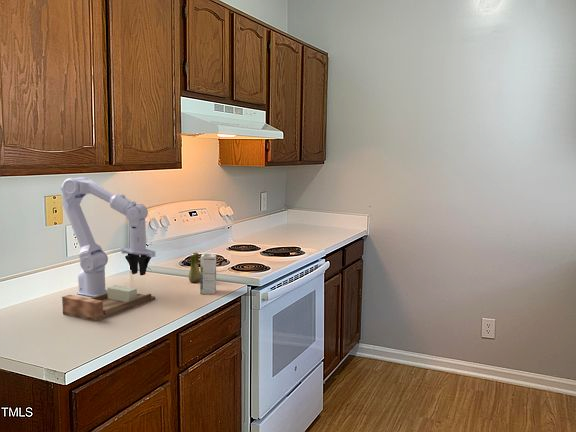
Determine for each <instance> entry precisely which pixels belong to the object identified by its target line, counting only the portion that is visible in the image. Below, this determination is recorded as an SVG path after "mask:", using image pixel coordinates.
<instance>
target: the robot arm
mask: <svg viewBox="0 0 576 432" xmlns="http://www.w3.org/2000/svg"><path fill="white" fill-rule="evenodd" d="M60 191H61V193H62V206H63V208H64V211H65V214H66V216H67V218H68V220H69V222H70V226H71V228H72V231H73V232H74V235H75V238H76V240H77V242H78V244H79V247H80V250H79V252H78V257H79V260H80V261H79V265H80V268H81V271H79V274H78V276H77V277H78V278H77V281H78V282H77V283H78V292H77V295H80V296H81V295H82V296H87V297H91V298H92V297H95V296H99V295H102V294H105V293H107V289H106V272H105V271H106V266H107V264H108V261H109V256H108V254H107V253H106V252H105V251H104V250H103V248H102V246H101V245H99V244H98V243H96V241H95V238H94V236H93V234H92V231H91V229H90V226H89V224H88V221H87V218H86V216H85V214H84V212H83V210H82V207H81V203H82V200H83V199H84V197H85V196H86V195H88V194H89V195H90V194H91V195H92V196H94V197H97V198H99V199H101V200H102V201H104V202H107V203H109V206H110V208H111V209H112V210H114V211H116V212H118V213H120V214H121V215H123V216H125V218H126V220H127V221H128V225H129V229H128V230H129V247H122V248H121V249H120V251H121V252H120V253H121V254H127V255H125V256H124V257H125V259H126V261H127V263H128V266H129V268H130V271H131V274H132V275H137V274H138V271H139V276H145V275H146V274H147V273H146V272H147V269H148V266H149V263H150V261H151V259H152V258H154V257H156V251H155V250H152V249H148V248H147V238H146V237H147V228H146V227H147V226H146V225H147V224H146V218H148V214H149V211H148V208H147V207H146V206H145V205H144V204H142V203H137V202H136V201H134V200H133V201H132V200H131V199H128V198H127V197H126V195H125V194H124V193H123V194H122V193H121V194H119V193H117V194H114V193H112V192H110V191H109V190H108V189H106V188H104V187H102V186H101V185H99V184H98V183H96V182H95V181H94V180H92V179H90V178H88V177H86V176H79V177H73V178H72V177H67V178H65V180H64V181H63V182H62V184H61V186H60Z"/></svg>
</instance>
